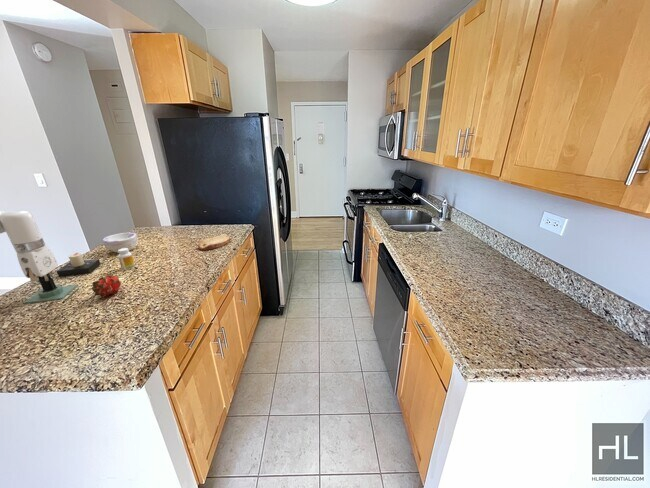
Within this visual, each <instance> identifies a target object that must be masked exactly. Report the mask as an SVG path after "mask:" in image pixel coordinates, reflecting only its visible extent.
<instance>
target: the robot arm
mask: <svg viewBox="0 0 650 488" xmlns="http://www.w3.org/2000/svg"><path fill="white" fill-rule="evenodd" d="M4 233H6V235H7V237H8V239H9V241H10V243H11V245H12V247H13V249H14V251H15V253H16V256H17V257H16V258H17V260H18V264H19V266H20V268H21V269H20V270H21V271H22V273H23V274H24V276H25V277H26V278H27V279H30V282H31V283H34V282H37V283H40V286H41V289H43V290H52V289H54V288H56V285H57V284H56V282H55V280H54V276H53V275H54V274H53V272H54V271H55V269H56V268H58V266H59V264H58V261H57V260H56V257H55V255H54V253H53V252H52V250H51V249H50V247H49V246H48V245H47V244H46V242H45V241H44V239H43V236H42V234H41V231H40V230H39V228H38V225H37V223H36V221H35V218H34V216H33V214H32V213H31V212H30V211H27V210H15V211H7V210H0V234H4Z"/></svg>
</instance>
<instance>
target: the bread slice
mask: <svg viewBox="0 0 650 488" xmlns="http://www.w3.org/2000/svg"><path fill="white" fill-rule="evenodd" d="M231 241H232V239H231V236H229V235H227V234H220V235H214V236H212V237H209V238H206V239H202V240H201V241H199V243H198V245H197V249H198V250H199V251H209V250H215V249H218V248H222V247H224V246H225V245H228V244H229V243H230V242H231Z"/></svg>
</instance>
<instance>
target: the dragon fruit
mask: <svg viewBox="0 0 650 488" xmlns="http://www.w3.org/2000/svg"><path fill="white" fill-rule="evenodd" d="M121 285H122V281H121V280H120V279H119V276H117V275H115V274H114V275H111V274H106V275H105V276H101V277H99V278H98V279H97V280H95V281H93V282H92V287H91V290H92V292H93V293H94V296H100V297H101V298H103V297H106V298H107V297H109V296H110V295H115V294H117V293H118V291H119V290H120V287H121Z"/></svg>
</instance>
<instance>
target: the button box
mask: <svg viewBox="0 0 650 488" xmlns="http://www.w3.org/2000/svg"><path fill="white" fill-rule="evenodd" d="M55 285H56V289H55V290H53V291H49V292H43V288H41V289H40V290H38V291H37V292H36V293H34V294H32V295H31V296H30V297H29V298H27V299H26V300H24V301H23V302H22V304H23V305H27V304H28V305H29V304H35V303H43V302H51V301H58V300H59V301H61V300H63V301H62V302H61V303H62V304H63V303H66V302H67V301H68V300H69V299H70V298H72V296H73V295H74V294H76V293H77V292H78V291H79V290H80V287H78V286H79V285H78V284H71V285H65V286H63V285H60V284H55ZM69 294H70V295H69ZM68 295H69V296H68Z"/></svg>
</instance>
